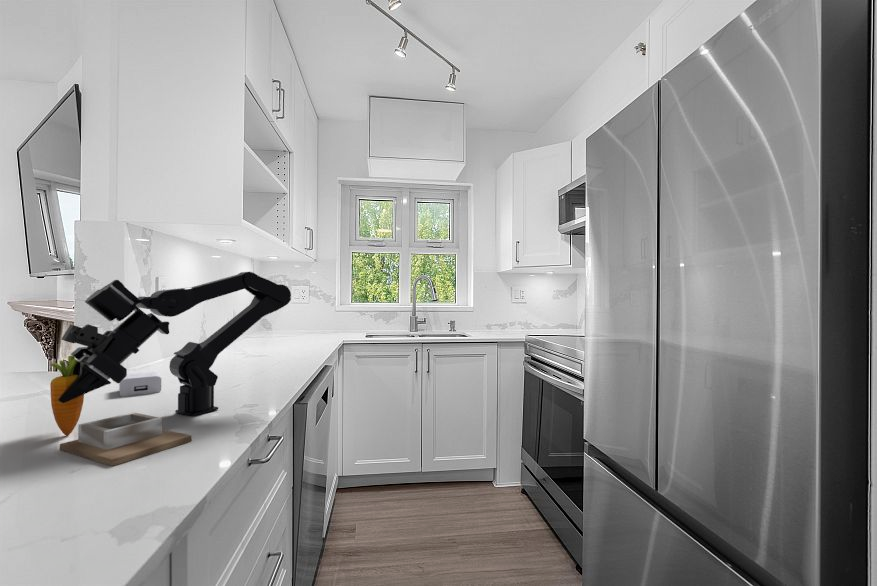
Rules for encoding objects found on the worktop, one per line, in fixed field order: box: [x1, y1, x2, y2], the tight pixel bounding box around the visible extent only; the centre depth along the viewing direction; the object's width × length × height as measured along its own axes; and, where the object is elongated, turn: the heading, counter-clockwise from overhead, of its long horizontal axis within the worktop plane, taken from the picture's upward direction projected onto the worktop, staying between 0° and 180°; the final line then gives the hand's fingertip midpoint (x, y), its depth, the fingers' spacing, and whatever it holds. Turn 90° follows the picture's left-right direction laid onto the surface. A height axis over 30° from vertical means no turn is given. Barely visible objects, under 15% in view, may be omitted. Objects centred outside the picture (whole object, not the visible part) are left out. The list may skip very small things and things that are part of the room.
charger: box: [118, 371, 162, 397], centre depth 122 cm, size 5×9×15 cm
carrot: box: [49, 355, 85, 437], centre depth 82 cm, size 5×5×15 cm
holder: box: [59, 411, 193, 467], centre depth 77 cm, size 13×16×4 cm
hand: (58, 399), depth 81 cm, fingers closed on carrot, 5 cm apart
